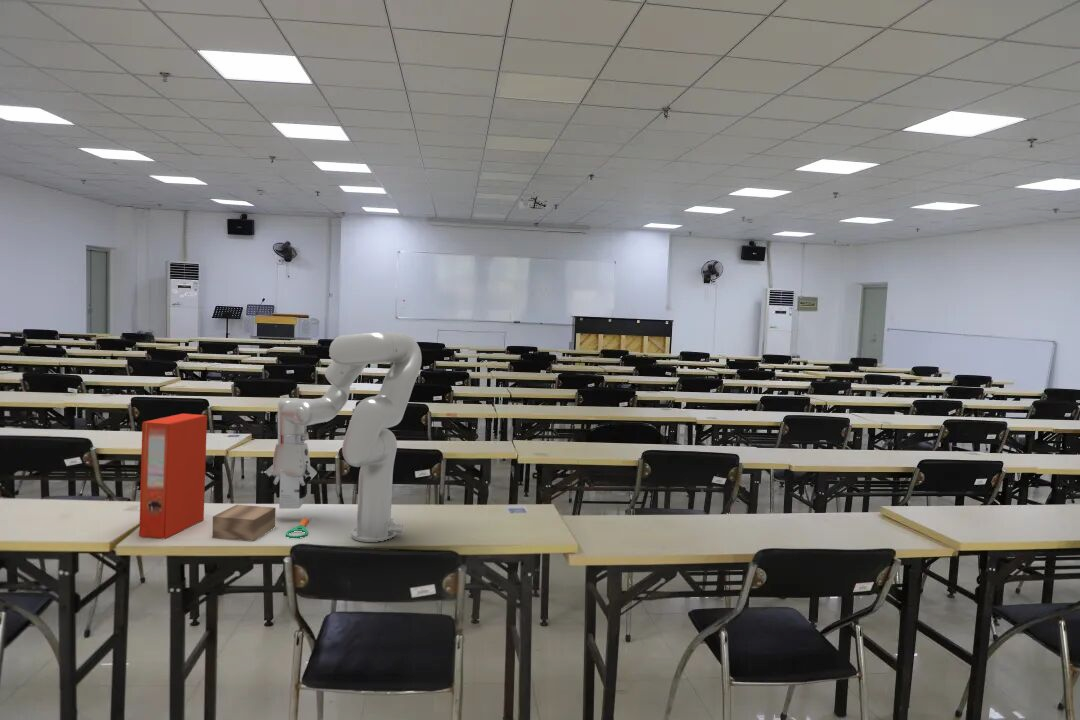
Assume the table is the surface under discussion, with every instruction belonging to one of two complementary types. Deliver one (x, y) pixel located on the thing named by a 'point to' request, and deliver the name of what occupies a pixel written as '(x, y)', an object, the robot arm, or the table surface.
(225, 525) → the walnut block
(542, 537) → the table surface
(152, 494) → the file binder
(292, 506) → the skincare box
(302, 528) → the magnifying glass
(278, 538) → the table surface
